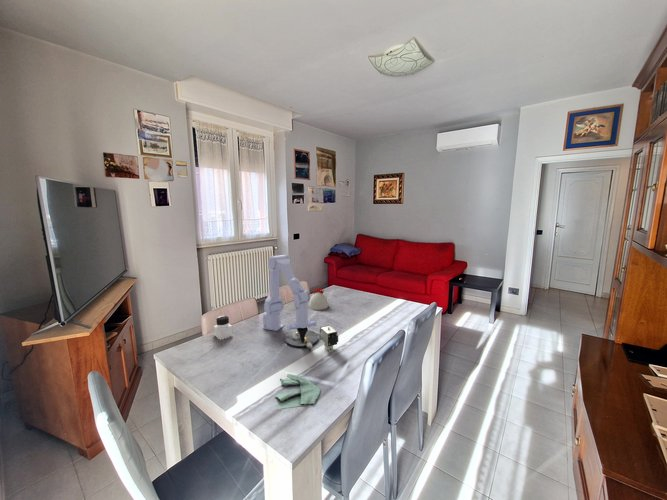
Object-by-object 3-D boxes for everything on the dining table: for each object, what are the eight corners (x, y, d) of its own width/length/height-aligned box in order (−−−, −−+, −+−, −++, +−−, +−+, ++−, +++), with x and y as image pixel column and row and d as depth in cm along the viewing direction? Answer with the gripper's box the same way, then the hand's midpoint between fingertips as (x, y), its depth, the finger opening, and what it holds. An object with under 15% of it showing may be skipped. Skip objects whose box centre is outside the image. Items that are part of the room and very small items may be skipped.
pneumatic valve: (329, 357, 130) (329, 332, 128) (319, 346, 140) (319, 323, 138) (340, 354, 132) (340, 330, 131) (329, 344, 143) (329, 321, 141)
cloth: (321, 407, 98) (321, 401, 97) (258, 410, 96) (257, 404, 96) (319, 373, 118) (319, 368, 118) (267, 375, 116) (267, 370, 116)
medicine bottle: (233, 338, 149) (232, 316, 148) (220, 342, 144) (218, 320, 142) (226, 334, 154) (225, 313, 152) (214, 338, 149) (212, 317, 147)
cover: (292, 341, 141) (292, 334, 140) (292, 337, 146) (291, 330, 145) (302, 340, 142) (302, 334, 141) (301, 336, 147) (301, 330, 146)
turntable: (283, 347, 138) (283, 339, 137) (287, 332, 154) (287, 325, 154) (317, 346, 138) (317, 338, 137) (318, 331, 155) (318, 324, 154)
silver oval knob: (306, 350, 135) (306, 342, 135) (307, 348, 137) (307, 341, 136) (311, 351, 134) (311, 343, 134) (313, 349, 136) (313, 341, 135)
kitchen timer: (327, 312, 188) (327, 290, 186) (307, 312, 188) (307, 290, 186) (328, 305, 202) (328, 285, 199) (309, 305, 202) (309, 285, 200)
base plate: (276, 345, 141) (276, 344, 141) (294, 330, 158) (294, 329, 158) (310, 352, 134) (310, 351, 134) (325, 335, 152) (325, 334, 152)
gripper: (289, 320, 130) (290, 347, 132) (318, 315, 136) (318, 341, 138) (285, 315, 137) (286, 341, 138) (313, 311, 143) (313, 336, 144)
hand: (302, 341), depth 139 cm, fingers closed
